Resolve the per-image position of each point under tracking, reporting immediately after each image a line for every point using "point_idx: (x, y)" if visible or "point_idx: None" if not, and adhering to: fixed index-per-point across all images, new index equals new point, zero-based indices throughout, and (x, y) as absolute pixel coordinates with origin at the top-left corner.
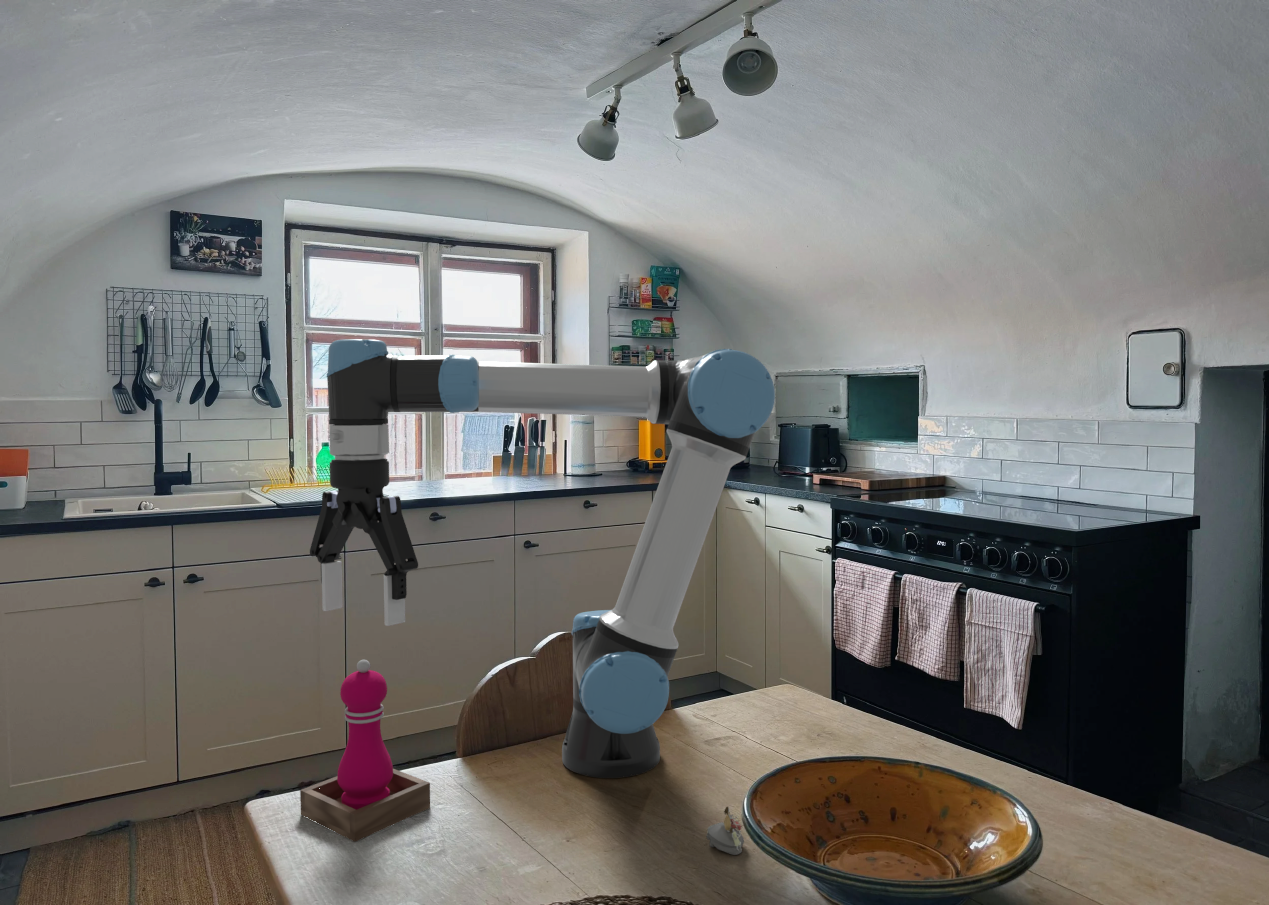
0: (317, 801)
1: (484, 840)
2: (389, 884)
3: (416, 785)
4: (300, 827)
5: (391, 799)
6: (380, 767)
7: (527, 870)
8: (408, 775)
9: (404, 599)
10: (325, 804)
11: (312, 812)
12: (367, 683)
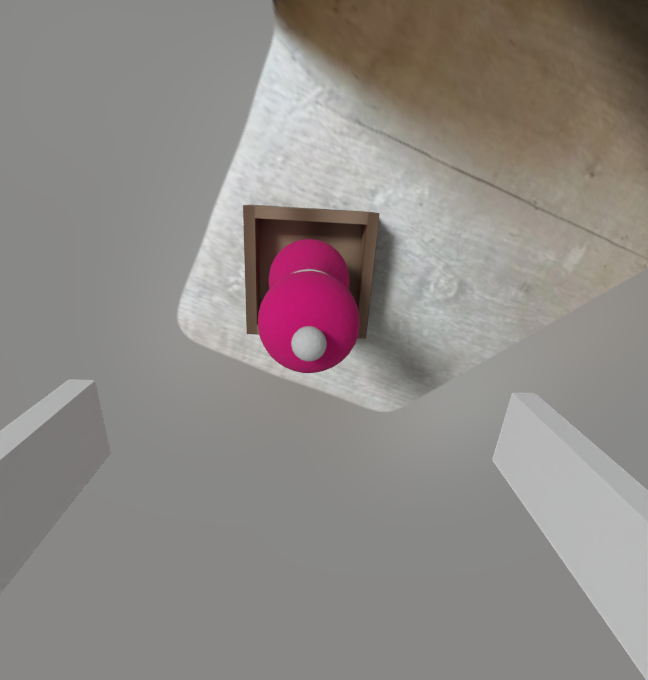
0: None
1: (492, 238)
2: (456, 359)
3: (368, 232)
4: None
5: (371, 283)
6: (347, 286)
7: (574, 262)
8: (331, 213)
9: (607, 459)
10: None
11: None
12: (347, 350)
